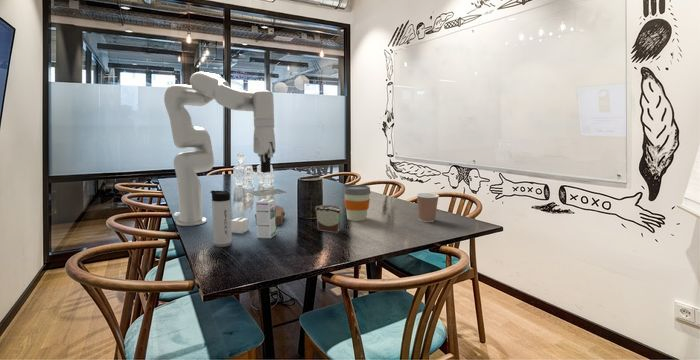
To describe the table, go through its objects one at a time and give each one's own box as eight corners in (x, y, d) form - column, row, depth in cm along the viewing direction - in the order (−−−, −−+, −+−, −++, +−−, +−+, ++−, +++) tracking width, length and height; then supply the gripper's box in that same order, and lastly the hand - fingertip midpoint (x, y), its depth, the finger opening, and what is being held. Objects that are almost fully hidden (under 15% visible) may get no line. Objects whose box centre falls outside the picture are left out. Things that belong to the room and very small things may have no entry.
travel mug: (215, 242, 142) (213, 189, 139) (233, 241, 143) (231, 189, 140) (210, 247, 136) (208, 192, 133) (229, 247, 136) (227, 192, 133)
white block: (231, 232, 155) (230, 220, 154) (238, 229, 160) (237, 217, 159) (242, 233, 154) (241, 221, 153) (248, 230, 159) (248, 218, 158)
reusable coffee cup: (370, 221, 173) (371, 189, 171) (343, 221, 173) (343, 189, 171) (369, 215, 186) (369, 185, 184) (343, 215, 186) (344, 184, 184)
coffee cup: (441, 219, 179) (442, 194, 177) (433, 224, 170) (434, 197, 168) (420, 216, 184) (421, 192, 182) (412, 220, 176) (412, 195, 174)
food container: (347, 229, 160) (347, 206, 159) (341, 233, 155) (341, 209, 153) (322, 226, 166) (321, 203, 164) (314, 229, 160) (314, 206, 159)
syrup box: (270, 238, 147) (270, 201, 145) (256, 237, 148) (255, 201, 146) (276, 234, 152) (275, 199, 150) (262, 233, 153) (261, 198, 151)
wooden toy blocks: (254, 233, 165) (259, 217, 183) (285, 228, 167) (286, 213, 184) (251, 217, 163) (256, 203, 180) (282, 213, 164) (284, 199, 182)
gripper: (246, 124, 147) (248, 171, 150) (263, 123, 136) (265, 174, 138) (264, 124, 152) (266, 169, 154) (282, 123, 140) (283, 173, 143)
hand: (265, 172), depth 146 cm, fingers closed
